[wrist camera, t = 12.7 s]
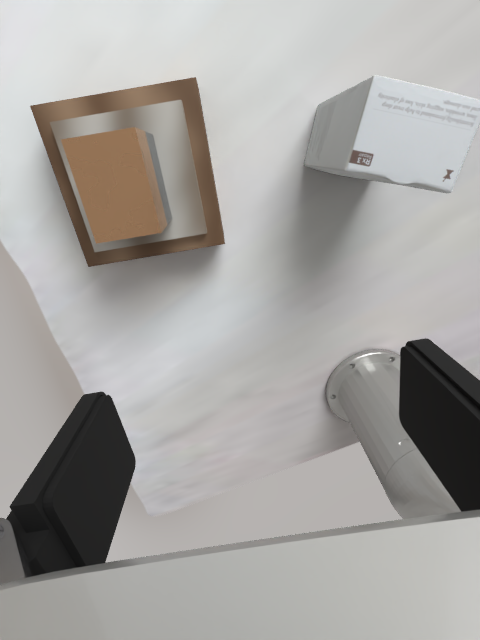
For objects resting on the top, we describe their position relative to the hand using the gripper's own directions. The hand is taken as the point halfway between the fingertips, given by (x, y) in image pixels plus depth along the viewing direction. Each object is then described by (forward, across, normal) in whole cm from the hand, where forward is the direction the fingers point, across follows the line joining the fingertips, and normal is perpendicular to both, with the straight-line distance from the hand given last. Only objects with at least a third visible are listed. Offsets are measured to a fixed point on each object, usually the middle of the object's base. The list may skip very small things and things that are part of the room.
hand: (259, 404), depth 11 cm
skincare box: (+31, -13, -8) cm, 34 cm away
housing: (+24, +8, -8) cm, 26 cm away
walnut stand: (+30, +8, -8) cm, 32 cm away
